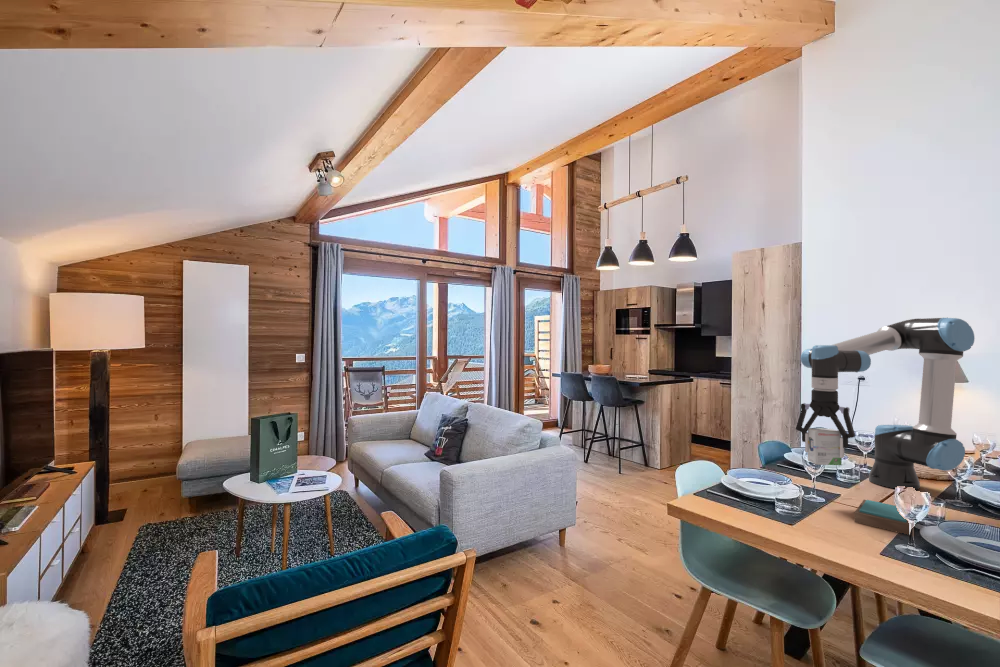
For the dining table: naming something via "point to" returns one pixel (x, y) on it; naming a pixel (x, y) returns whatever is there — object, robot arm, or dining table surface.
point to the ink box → (824, 446)
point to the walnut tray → (881, 516)
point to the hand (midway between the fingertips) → (824, 454)
